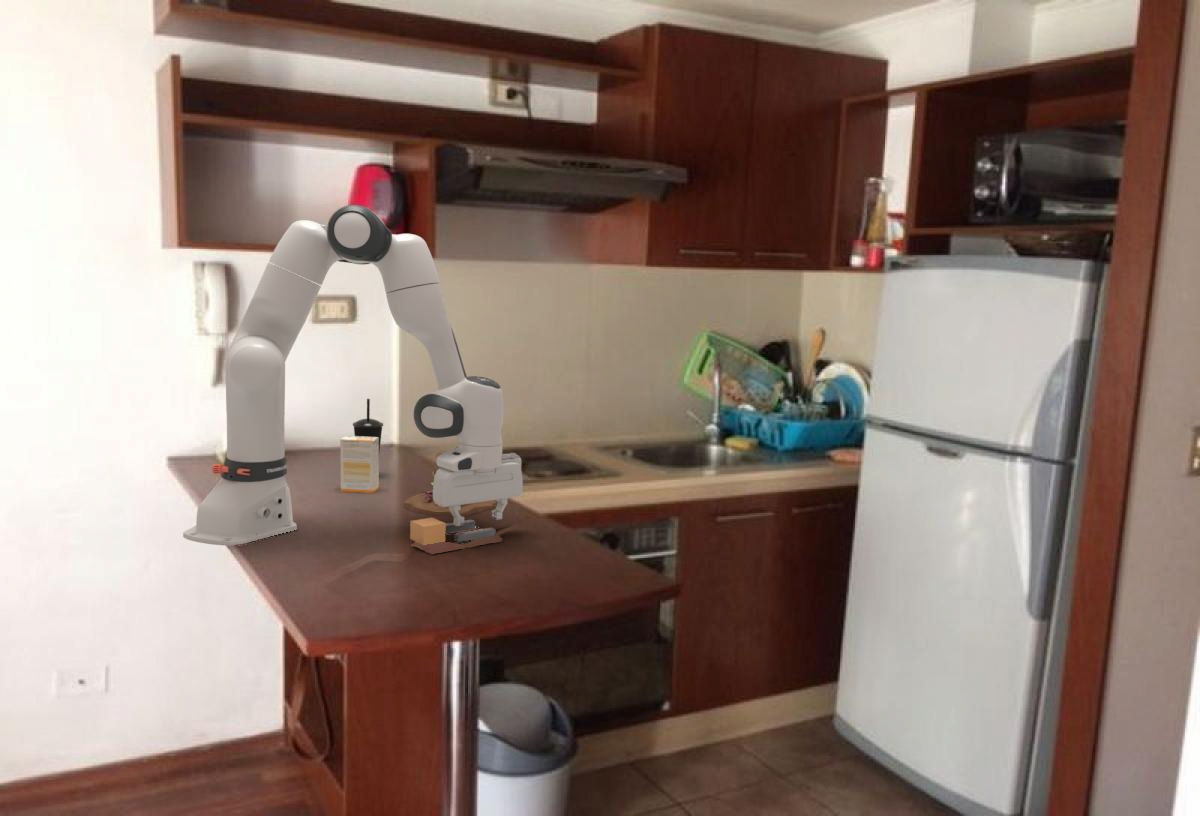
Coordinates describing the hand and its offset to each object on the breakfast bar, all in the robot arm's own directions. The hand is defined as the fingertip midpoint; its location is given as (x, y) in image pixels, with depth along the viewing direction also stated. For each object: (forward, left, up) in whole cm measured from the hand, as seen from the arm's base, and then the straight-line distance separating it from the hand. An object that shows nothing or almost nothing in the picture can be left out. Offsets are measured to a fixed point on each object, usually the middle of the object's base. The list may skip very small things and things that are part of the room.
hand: (478, 522), depth 206 cm
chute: (-10, +6, -3) cm, 12 cm away
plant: (+18, +15, -4) cm, 24 cm away
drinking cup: (+39, +49, -3) cm, 63 cm away
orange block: (-10, +6, -2) cm, 12 cm away
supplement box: (+24, +42, -3) cm, 49 cm away
